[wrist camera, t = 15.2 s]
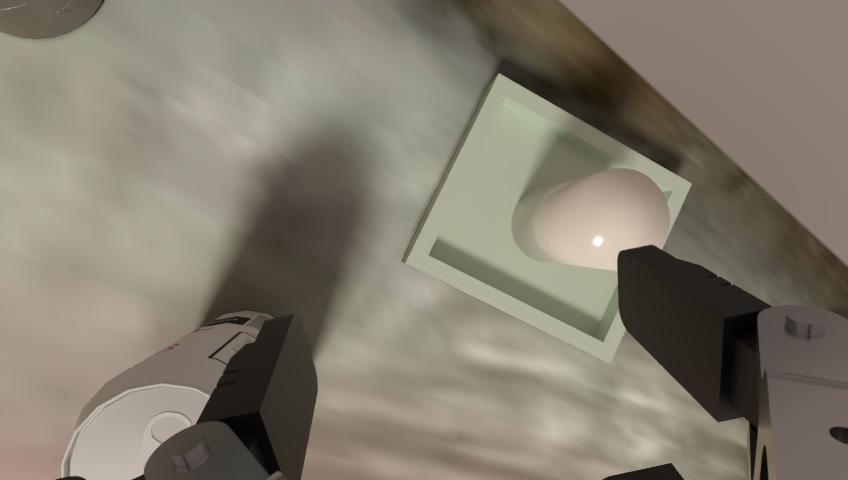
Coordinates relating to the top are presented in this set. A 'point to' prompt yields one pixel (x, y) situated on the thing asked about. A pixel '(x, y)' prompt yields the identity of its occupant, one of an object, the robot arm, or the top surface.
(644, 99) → the top surface
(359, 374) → the top surface
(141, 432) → the supplement can
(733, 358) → the robot arm
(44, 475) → the top surface
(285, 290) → the top surface
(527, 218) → the white domed cylinder
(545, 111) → the tray
